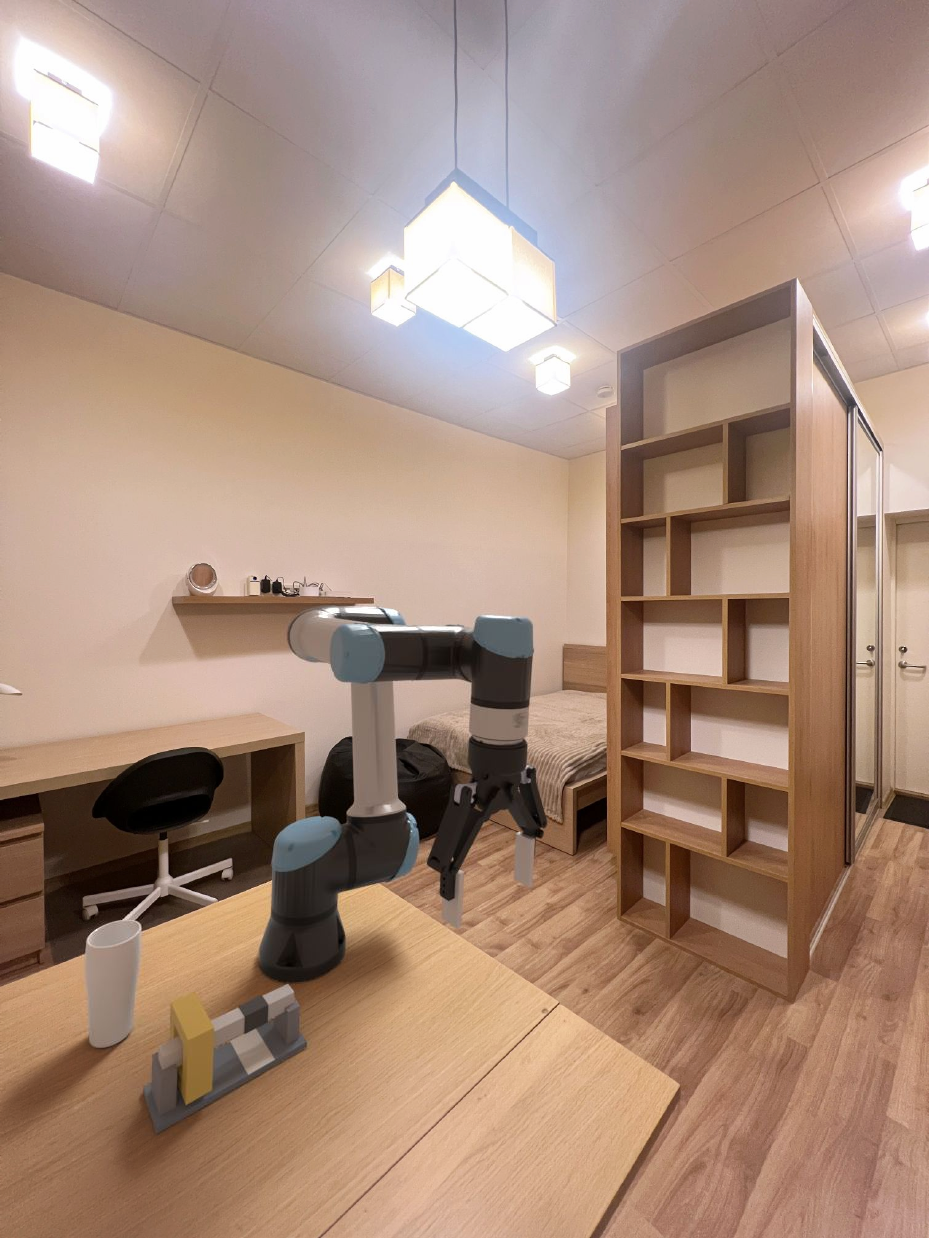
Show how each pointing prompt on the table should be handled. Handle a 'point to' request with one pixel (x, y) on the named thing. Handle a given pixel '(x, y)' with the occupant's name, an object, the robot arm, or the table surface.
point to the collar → (193, 1046)
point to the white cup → (112, 980)
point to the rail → (228, 1054)
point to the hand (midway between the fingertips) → (489, 901)
